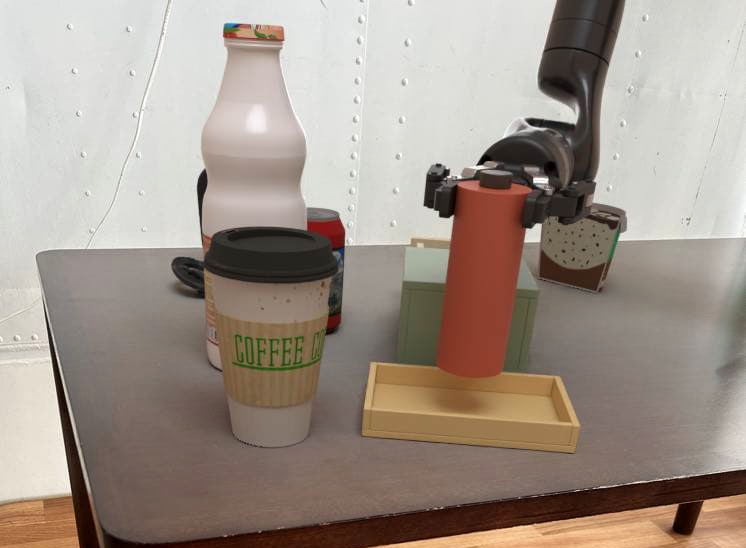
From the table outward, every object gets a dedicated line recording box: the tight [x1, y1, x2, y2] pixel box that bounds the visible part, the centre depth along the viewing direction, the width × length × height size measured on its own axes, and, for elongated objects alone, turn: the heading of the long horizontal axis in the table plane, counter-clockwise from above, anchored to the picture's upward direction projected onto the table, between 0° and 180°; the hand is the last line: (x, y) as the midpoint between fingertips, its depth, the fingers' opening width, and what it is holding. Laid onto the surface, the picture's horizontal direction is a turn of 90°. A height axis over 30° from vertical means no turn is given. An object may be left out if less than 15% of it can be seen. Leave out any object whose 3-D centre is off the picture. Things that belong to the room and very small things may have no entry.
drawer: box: [409, 235, 451, 250], centre depth 95 cm, size 18×11×7 cm, turn 175°
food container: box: [536, 202, 628, 294], centre depth 110 cm, size 12×6×10 cm, turn 46°
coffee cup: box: [202, 226, 339, 448], centre depth 62 cm, size 10×10×15 cm
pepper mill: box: [436, 170, 532, 378], centre depth 64 cm, size 6×6×15 cm
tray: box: [361, 361, 581, 454], centre depth 70 cm, size 17×11×2 cm, turn 85°
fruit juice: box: [200, 22, 308, 371], centre depth 73 cm, size 9×9×28 cm
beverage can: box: [306, 206, 346, 334], centre depth 87 cm, size 7×7×12 cm
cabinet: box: [395, 246, 541, 374], centre depth 84 cm, size 15×13×9 cm
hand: (486, 208), depth 60 cm, fingers closed on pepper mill, 5 cm apart
